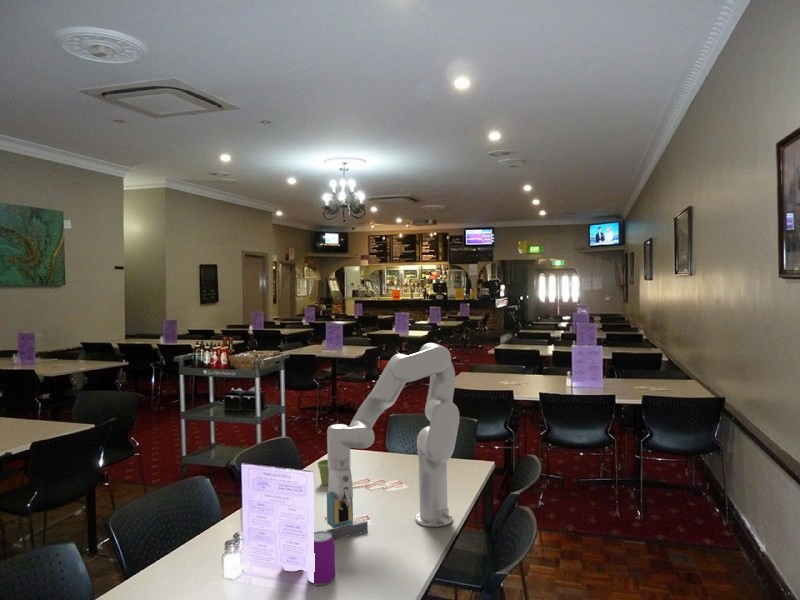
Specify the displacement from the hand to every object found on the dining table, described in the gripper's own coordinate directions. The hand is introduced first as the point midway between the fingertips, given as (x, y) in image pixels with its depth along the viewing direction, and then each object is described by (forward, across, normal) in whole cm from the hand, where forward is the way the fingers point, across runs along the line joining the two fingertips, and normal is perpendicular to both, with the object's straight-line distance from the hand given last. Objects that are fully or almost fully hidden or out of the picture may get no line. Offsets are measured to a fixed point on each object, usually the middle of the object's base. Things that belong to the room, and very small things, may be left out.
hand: (340, 517), depth 189 cm
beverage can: (+4, -27, +18) cm, 33 cm away
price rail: (+4, -4, 0) cm, 6 cm away
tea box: (+2, 0, 0) cm, 2 cm away
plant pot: (+4, +45, -15) cm, 48 cm away
